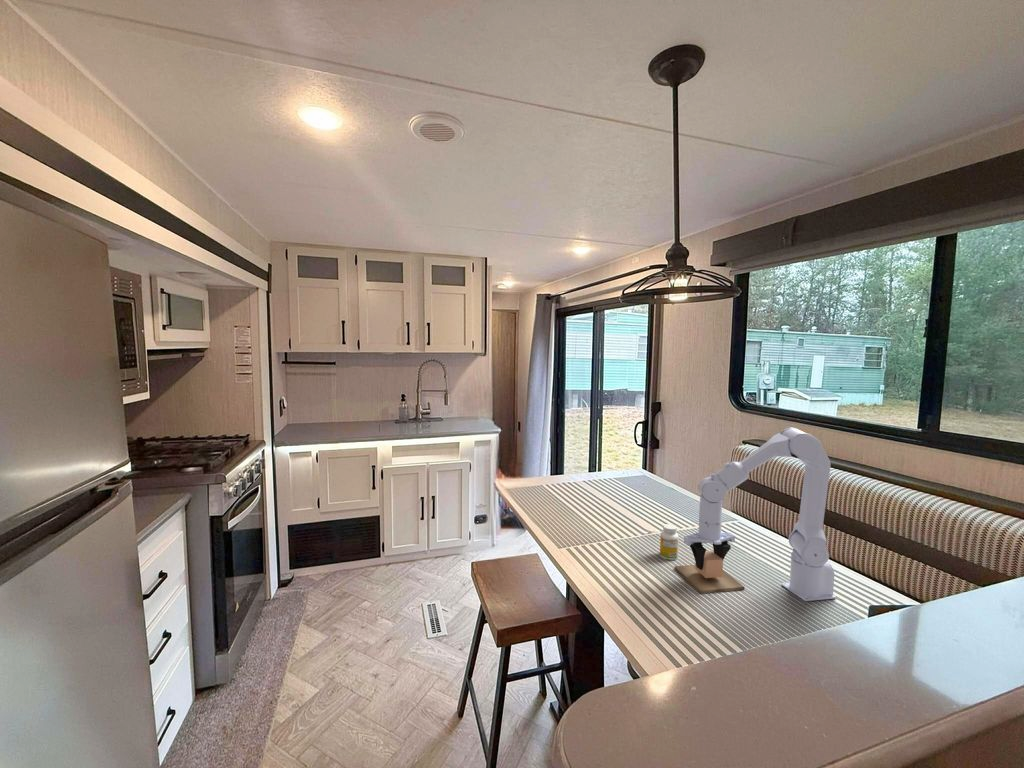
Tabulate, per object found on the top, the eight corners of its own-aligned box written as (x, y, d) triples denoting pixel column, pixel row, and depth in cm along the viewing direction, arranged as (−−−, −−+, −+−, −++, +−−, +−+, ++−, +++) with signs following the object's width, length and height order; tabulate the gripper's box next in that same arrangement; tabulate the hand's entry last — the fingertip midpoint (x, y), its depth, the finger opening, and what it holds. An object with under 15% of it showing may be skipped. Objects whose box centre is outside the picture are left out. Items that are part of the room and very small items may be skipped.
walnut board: (714, 565, 126) (714, 563, 126) (744, 589, 113) (744, 586, 113) (674, 568, 124) (674, 566, 124) (700, 593, 111) (700, 590, 111)
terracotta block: (711, 567, 121) (711, 551, 121) (722, 576, 116) (723, 559, 116) (695, 568, 120) (695, 552, 120) (705, 578, 115) (706, 560, 115)
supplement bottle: (663, 550, 135) (664, 521, 135) (680, 555, 132) (681, 526, 131) (657, 556, 131) (658, 526, 130) (674, 562, 128) (675, 531, 127)
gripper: (694, 528, 112) (693, 576, 113) (743, 524, 114) (741, 572, 115) (680, 517, 119) (678, 563, 120) (726, 515, 121) (724, 560, 122)
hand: (708, 567), depth 118 cm, fingers closed on terracotta block, 5 cm apart
